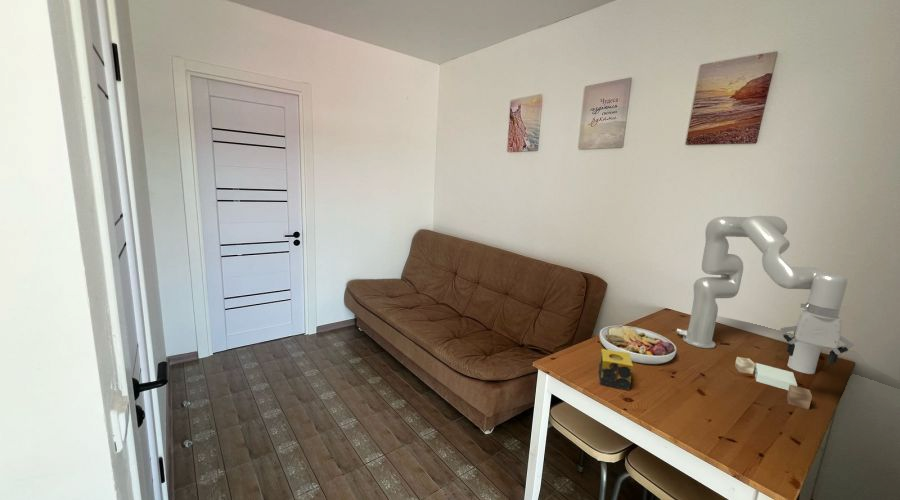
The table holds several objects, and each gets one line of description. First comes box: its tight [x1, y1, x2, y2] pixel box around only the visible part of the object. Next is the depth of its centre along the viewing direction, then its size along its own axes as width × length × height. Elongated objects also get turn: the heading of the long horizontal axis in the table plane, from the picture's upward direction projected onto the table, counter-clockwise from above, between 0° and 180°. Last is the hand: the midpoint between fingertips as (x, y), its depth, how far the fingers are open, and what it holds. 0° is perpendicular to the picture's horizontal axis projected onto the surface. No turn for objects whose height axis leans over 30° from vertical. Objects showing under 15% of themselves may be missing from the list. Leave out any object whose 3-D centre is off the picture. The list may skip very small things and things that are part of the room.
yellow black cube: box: [598, 348, 634, 391], centre depth 132 cm, size 10×10×10 cm
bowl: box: [599, 325, 677, 365], centre depth 158 cm, size 30×30×8 cm
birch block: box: [734, 356, 756, 375], centre depth 144 cm, size 4×4×4 cm
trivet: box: [753, 362, 798, 391], centre depth 137 cm, size 11×11×3 cm
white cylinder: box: [787, 341, 823, 375], centre depth 146 cm, size 8×8×12 cm
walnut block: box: [786, 385, 813, 411], centre depth 123 cm, size 5×5×5 cm
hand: (809, 358), depth 120 cm, fingers open, 9 cm apart
